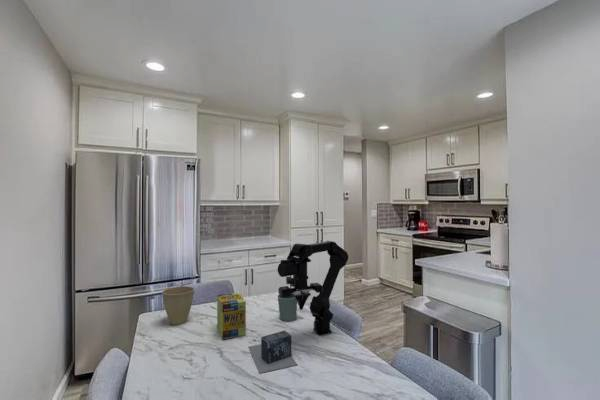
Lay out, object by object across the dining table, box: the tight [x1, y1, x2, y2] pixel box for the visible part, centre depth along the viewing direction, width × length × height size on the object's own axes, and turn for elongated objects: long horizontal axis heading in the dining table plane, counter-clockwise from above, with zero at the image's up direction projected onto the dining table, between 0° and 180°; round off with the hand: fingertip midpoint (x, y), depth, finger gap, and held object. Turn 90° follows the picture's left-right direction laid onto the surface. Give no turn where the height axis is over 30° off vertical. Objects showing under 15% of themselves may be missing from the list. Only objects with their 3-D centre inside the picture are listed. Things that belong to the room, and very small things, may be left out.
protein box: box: [216, 292, 247, 341], centre depth 133 cm, size 10×15×16 cm
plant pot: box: [161, 285, 195, 326], centre depth 145 cm, size 15×15×16 cm
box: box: [260, 330, 293, 364], centre depth 110 cm, size 8×6×11 cm
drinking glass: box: [277, 293, 298, 323], centre depth 148 cm, size 10×10×12 cm
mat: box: [247, 343, 298, 375], centre depth 111 cm, size 14×20×1 cm
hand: (301, 309), depth 125 cm, fingers closed
